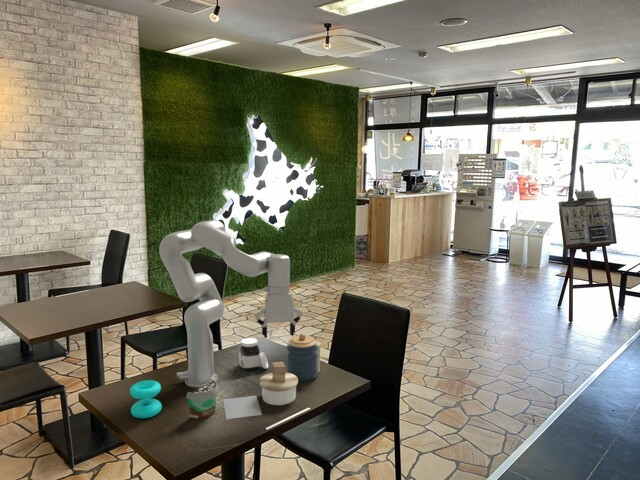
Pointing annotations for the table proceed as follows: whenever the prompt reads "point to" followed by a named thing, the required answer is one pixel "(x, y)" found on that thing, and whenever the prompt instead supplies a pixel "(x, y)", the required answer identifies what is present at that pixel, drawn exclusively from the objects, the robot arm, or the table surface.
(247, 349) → the spread jar
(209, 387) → the food container
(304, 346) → the canister
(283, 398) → the bowl
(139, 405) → the donuts
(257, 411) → the mat
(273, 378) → the lid
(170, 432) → the table surface
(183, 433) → the table surface
